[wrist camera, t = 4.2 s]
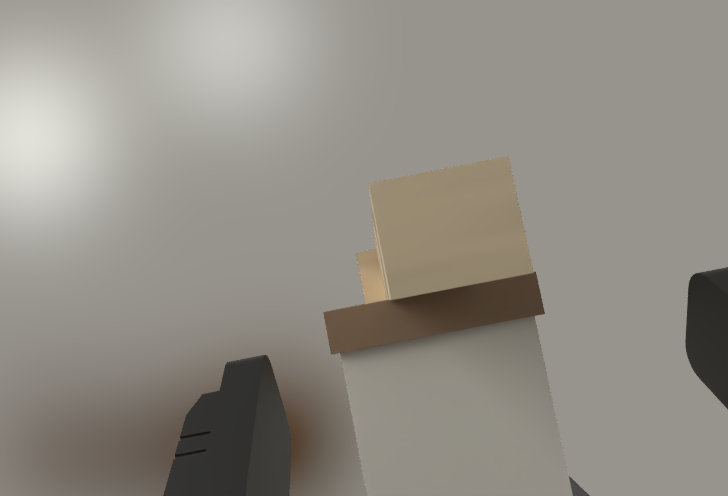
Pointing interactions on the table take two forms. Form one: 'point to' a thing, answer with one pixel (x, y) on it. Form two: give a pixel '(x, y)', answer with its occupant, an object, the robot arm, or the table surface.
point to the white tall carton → (452, 393)
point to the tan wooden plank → (444, 231)
